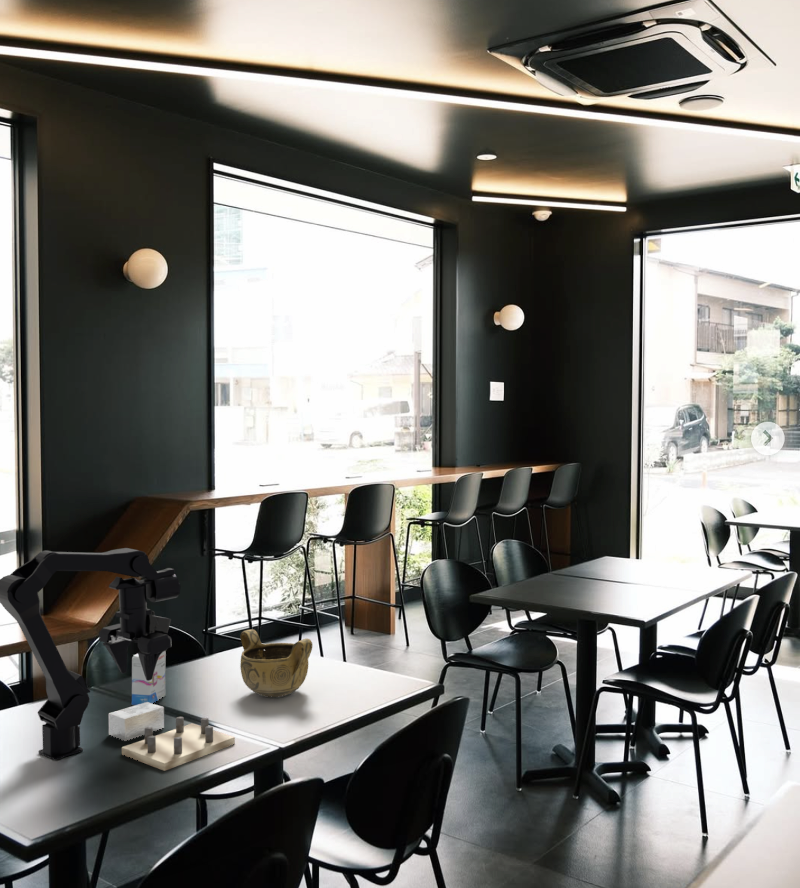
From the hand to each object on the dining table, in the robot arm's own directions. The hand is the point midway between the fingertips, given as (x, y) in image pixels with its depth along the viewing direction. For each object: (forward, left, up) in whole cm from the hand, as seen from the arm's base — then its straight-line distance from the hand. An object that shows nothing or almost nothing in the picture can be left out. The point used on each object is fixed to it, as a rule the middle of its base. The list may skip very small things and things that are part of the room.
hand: (136, 676), depth 197 cm
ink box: (+15, +16, -12) cm, 25 cm away
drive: (0, 0, -12) cm, 12 cm away
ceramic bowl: (+37, -5, -12) cm, 39 cm away
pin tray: (-1, -16, -12) cm, 20 cm away
